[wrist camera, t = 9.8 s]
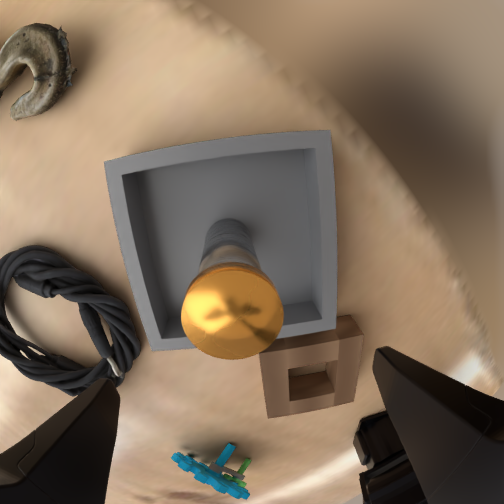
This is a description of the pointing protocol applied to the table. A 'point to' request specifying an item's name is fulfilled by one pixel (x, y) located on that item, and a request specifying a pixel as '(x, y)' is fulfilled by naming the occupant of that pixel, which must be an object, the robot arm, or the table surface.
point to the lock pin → (231, 297)
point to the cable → (90, 302)
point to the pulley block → (36, 67)
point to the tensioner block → (317, 384)
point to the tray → (234, 207)
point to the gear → (217, 473)
